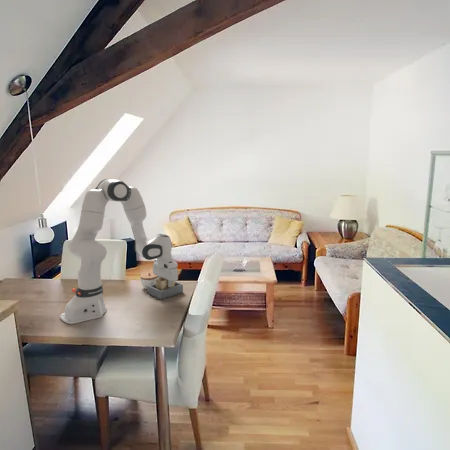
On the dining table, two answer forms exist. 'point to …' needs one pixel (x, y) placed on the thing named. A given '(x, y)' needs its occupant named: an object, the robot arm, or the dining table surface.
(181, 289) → the grey crate
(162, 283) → the pine crate
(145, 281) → the lidded jar
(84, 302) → the robot arm
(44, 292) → the dining table surface
